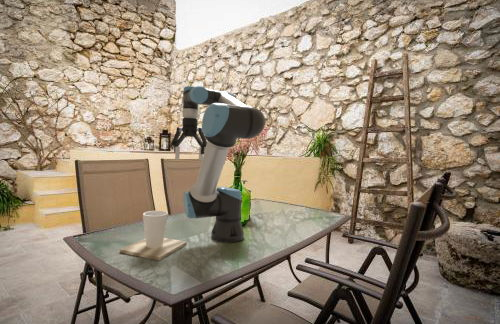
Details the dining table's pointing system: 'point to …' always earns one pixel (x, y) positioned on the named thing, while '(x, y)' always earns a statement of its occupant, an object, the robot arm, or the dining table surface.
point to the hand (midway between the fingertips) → (188, 160)
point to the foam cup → (155, 227)
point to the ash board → (153, 249)
